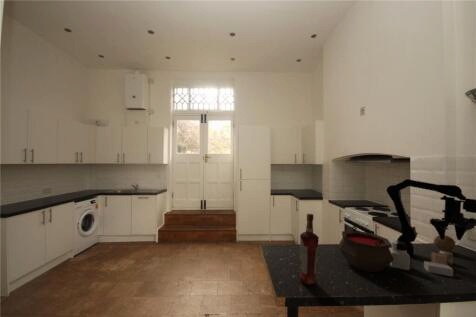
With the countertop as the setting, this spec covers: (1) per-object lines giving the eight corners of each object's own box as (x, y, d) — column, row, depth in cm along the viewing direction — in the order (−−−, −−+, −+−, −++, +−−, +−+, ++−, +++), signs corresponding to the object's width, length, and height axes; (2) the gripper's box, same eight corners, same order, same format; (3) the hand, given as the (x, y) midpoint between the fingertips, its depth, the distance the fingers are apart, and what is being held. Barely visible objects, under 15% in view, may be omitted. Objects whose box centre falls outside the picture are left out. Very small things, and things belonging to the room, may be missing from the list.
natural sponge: (436, 252, 122) (437, 235, 123) (430, 247, 130) (431, 231, 131) (457, 256, 118) (458, 239, 119) (450, 250, 126) (450, 234, 127)
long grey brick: (428, 272, 99) (428, 265, 99) (423, 268, 103) (424, 261, 103) (452, 277, 96) (453, 269, 96) (447, 272, 100) (447, 265, 100)
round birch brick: (442, 263, 109) (442, 253, 109) (437, 259, 114) (437, 250, 114) (454, 265, 107) (455, 255, 107) (449, 261, 112) (449, 252, 112)
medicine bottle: (405, 264, 106) (405, 240, 106) (409, 270, 99) (410, 245, 100) (388, 261, 109) (388, 238, 109) (391, 267, 102) (392, 242, 103)
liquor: (296, 276, 90) (298, 211, 91) (312, 276, 90) (315, 212, 91) (302, 286, 83) (304, 216, 83) (320, 287, 83) (322, 217, 84)
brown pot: (407, 280, 91) (408, 243, 91) (350, 276, 92) (352, 239, 92) (374, 255, 115) (375, 226, 115) (329, 252, 116) (331, 223, 116)
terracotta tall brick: (434, 267, 104) (435, 255, 105) (430, 263, 109) (431, 251, 109) (446, 269, 103) (446, 257, 103) (441, 265, 107) (442, 253, 107)
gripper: (453, 213, 98) (451, 246, 98) (488, 214, 100) (486, 247, 100) (429, 207, 109) (427, 236, 109) (462, 208, 111) (460, 238, 111)
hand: (450, 239), depth 107 cm, fingers open, 9 cm apart
